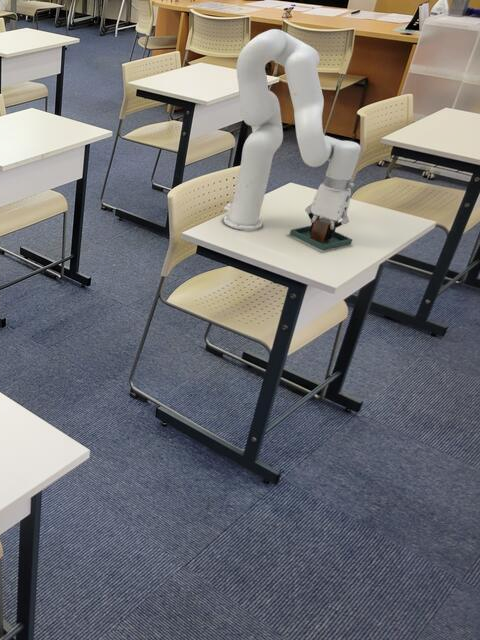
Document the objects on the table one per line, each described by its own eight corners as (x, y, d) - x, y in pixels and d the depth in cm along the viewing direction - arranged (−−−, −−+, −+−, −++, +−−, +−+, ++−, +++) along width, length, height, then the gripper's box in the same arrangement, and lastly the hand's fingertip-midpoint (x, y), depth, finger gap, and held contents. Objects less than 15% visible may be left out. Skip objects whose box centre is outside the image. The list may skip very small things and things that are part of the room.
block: (309, 238, 227) (314, 220, 224) (316, 235, 230) (321, 217, 226) (322, 243, 225) (328, 224, 221) (329, 239, 227) (335, 221, 224)
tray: (288, 235, 231) (290, 229, 229) (316, 229, 235) (318, 223, 234) (321, 252, 220) (323, 245, 219) (350, 245, 225) (352, 239, 224)
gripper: (368, 187, 214) (350, 242, 224) (317, 172, 224) (301, 225, 234) (357, 192, 209) (339, 248, 220) (305, 177, 220) (290, 231, 230)
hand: (320, 236), depth 227 cm, fingers closed on block, 4 cm apart
